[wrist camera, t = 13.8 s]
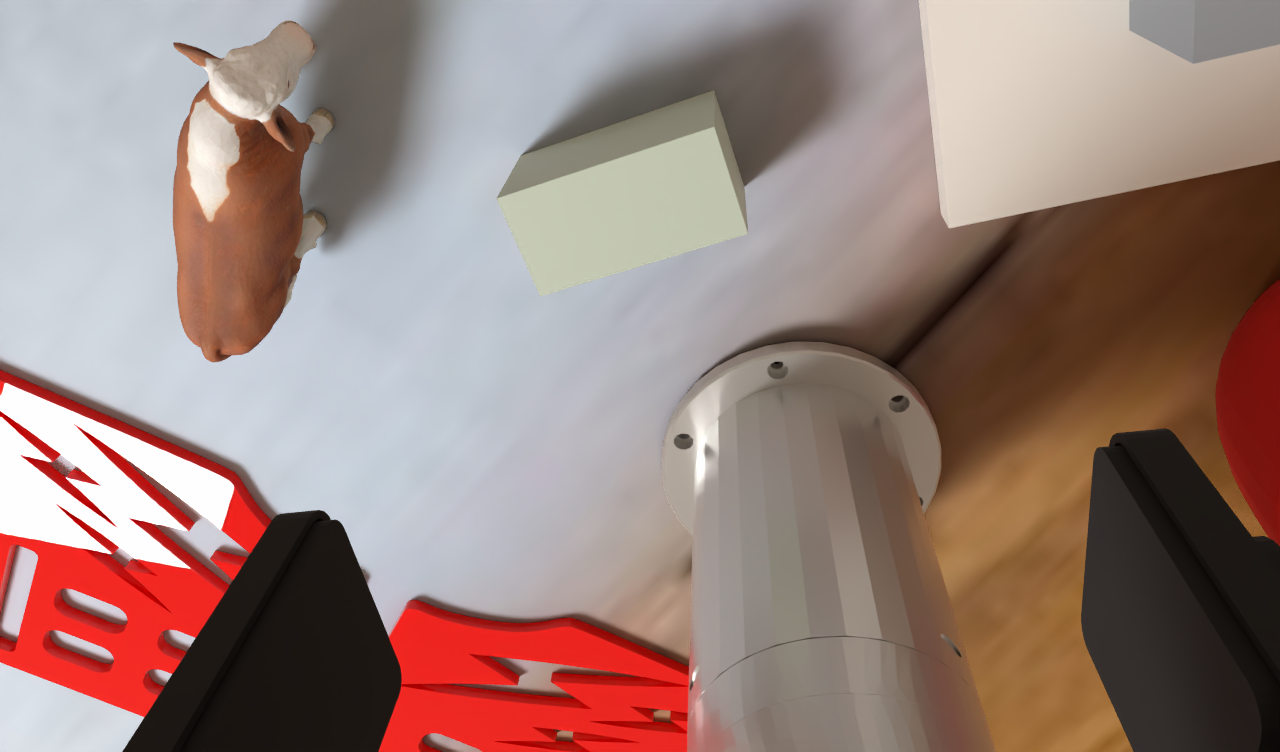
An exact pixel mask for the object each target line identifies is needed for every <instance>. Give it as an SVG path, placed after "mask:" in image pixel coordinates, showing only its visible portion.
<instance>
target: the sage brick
mask: <svg viewBox="0 0 1280 752" xmlns="http://www.w3.org/2000/svg"><path fill="white" fill-rule="evenodd" d="M497 201H498V203H499V205H500V207H501V210H502V212H503V214H504V216H505V219H506V221H507V223H508V225H509V227H510V230H511V232H512V234H513V236H514V239H515V241H516V243H517V245H518V248H519V250H520V252H521V254H522V257H523V259H524V261H525V263H526V265H527V268H528V270H529V272H530V274H531V277H532V279H533V281H534V283H535V286H536V288H537V290H538V292H539V295H540V296H543V295H546V294H549V293H553V292H556V291H559V290H563V289H566V288H569V287H573V286H576V285H579V284H583V283H586V282H589V281H593V280H596V279H599V278H602V277H606V276H609V275H612V274H616V273H619V272H622V271H626V270H629V269H632V268H636V267H639V266H642V265H646V264H649V263H652V262H656V261H659V260H662V259H666V258H669V257H672V256H676V255H679V254H682V253H686V252H689V251H692V250H695V249H699V248H702V247H705V246H709V245H712V244H715V243H719V242H722V241H725V240H729V239H732V238H735V237H739V236H742V235H745V234H748V226H747V214H746V202H745V190H744V184H743V181H742V178H741V175H740V172H739V168H738V165H737V162H736V159H735V155H734V152H733V149H732V146H731V143H730V139H729V136H728V133H727V130H726V127H725V123H724V120H723V117H722V114H721V111H720V107H719V104H718V101H717V98H716V94H715V91H714V90H712V91H709V92H706V93H703V94H701V95H698V96H695V97H692V98H689V99H686V100H683V101H680V102H677V103H674V104H671V105H668V106H665V107H662V108H659V109H656V110H653V111H650V112H647V113H645V114H642V115H639V116H636V117H633V118H630V119H627V120H624V121H621V122H618V123H615V124H612V125H609V126H606V127H603V128H600V129H597V130H594V131H591V132H589V133H586V134H583V135H580V136H577V137H574V138H571V139H568V140H565V141H562V142H559V143H556V144H553V145H550V146H547V147H544V148H541V149H538V150H536V151H533V152H530V153H527V154H524V155H521V156H520V158H519V160H518V161H517V163H516V165H515V167H514V168H513V170H512V172H511V174H510V176H509V177H508V179H507V181H506V183H505V184H504V186H503V188H502V190H501V192H500V193H499V195H498V197H497Z"/></svg>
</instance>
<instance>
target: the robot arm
mask: <svg viewBox="0 0 1280 752" xmlns="http://www.w3.org/2000/svg"><path fill="white" fill-rule="evenodd" d="M774 362H781V363H779V364H773V363H774ZM897 395H899V396H897ZM895 396H897V397H895ZM682 433H684V434H682ZM661 467H662V483H663V486H664V490H665V493H666V496H667V499H668V503H669V505H670V506H671V508H672V510H673V512H674V514H675V515H676V517H677V519H678V521H679V522H680V523H681V524H682V525H683V527H684V528H685V529H686V530H687V531H688V532H689V533H690V535H691V536H692V537H693V552H692V586H691V621H690V655H689V690H688V724H687V752H996V750H995V747H994V743H993V740H992V737H991V734H990V730H989V727H988V724H987V720H986V717H985V714H984V711H983V708H982V706H981V703H980V700H979V697H978V693H977V690H976V687H975V683H974V680H973V676H972V673H971V670H970V666H969V663H968V660H967V656H966V653H965V650H964V646H963V643H962V640H961V636H960V633H959V630H958V626H957V623H956V620H955V616H954V613H953V610H952V606H951V603H950V600H949V596H948V593H947V590H946V586H945V583H944V580H943V576H942V573H941V570H940V566H939V563H938V560H937V556H936V553H935V549H934V546H933V543H932V539H931V536H930V533H929V529H928V526H927V523H926V519H925V516H924V513H925V512H926V511H927V509H928V507H929V505H930V503H931V501H932V499H933V496H934V494H935V492H936V490H937V486H938V482H939V478H940V473H941V444H940V440H939V436H938V432H937V428H936V425H935V422H934V420H933V418H932V415H931V413H930V410H929V408H928V406H927V404H926V403H925V401H924V400H923V398H922V397H921V395H920V394H919V392H918V391H917V389H916V388H915V387H914V386H913V385H912V384H911V383H910V382H909V381H908V380H907V379H906V378H905V377H904V376H903V375H902V374H900V373H899V372H898V371H897V370H896V369H894V368H893V367H891V366H889V365H888V364H886V363H884V362H883V361H881V360H880V359H878V358H876V357H874V356H872V355H869V354H867V353H864V352H861V351H859V350H856V349H853V348H851V347H846V346H841V345H836V344H830V343H825V342H787V343H781V344H774V345H767V346H764V347H761V348H757V349H754V350H751V351H748V352H745V353H742V354H739V355H737V356H735V357H734V358H732V359H730V360H728V361H726V362H724V363H722V364H720V365H718V366H716V367H715V368H714V369H713V370H711V371H710V372H709V373H707V374H706V375H705V376H704V377H702V378H701V379H700V380H699V381H697V382H696V383H695V384H694V385H693V387H692V388H691V389H690V390H689V391H688V392H687V394H686V395H685V396H684V397H683V398H682V399H681V400H680V402H679V404H678V406H677V408H676V409H675V411H674V413H673V415H672V417H671V418H670V420H669V423H668V427H667V430H666V434H665V437H664V440H663V451H662V460H661ZM1081 623H1082V631H1083V636H1084V640H1085V644H1086V646H1087V649H1088V651H1089V654H1090V656H1091V658H1092V660H1093V663H1094V665H1095V667H1096V669H1097V671H1098V674H1099V676H1100V678H1101V680H1102V682H1103V685H1104V687H1105V689H1106V691H1107V694H1108V696H1109V698H1110V700H1111V702H1112V705H1113V707H1114V709H1115V711H1116V713H1117V716H1118V718H1119V720H1120V722H1121V725H1122V727H1123V729H1124V731H1125V733H1126V736H1127V738H1128V740H1129V742H1130V744H1131V747H1132V749H1133V751H1134V752H1280V546H1279V545H1278V544H1277V543H1276V542H1275V541H1274V540H1272V539H1270V538H1267V537H1265V536H1258V537H1252V536H1251V535H1250V533H1249V532H1248V531H1247V529H1246V528H1245V527H1244V525H1243V524H1242V523H1241V521H1240V520H1239V519H1238V518H1237V516H1236V515H1235V514H1234V512H1233V511H1232V510H1231V508H1230V507H1229V506H1228V504H1227V503H1226V502H1225V500H1224V499H1223V498H1222V496H1221V495H1220V494H1219V492H1218V491H1217V490H1216V488H1215V487H1214V486H1213V484H1212V483H1211V482H1210V481H1209V479H1208V478H1207V477H1206V475H1205V474H1204V473H1203V471H1202V470H1201V469H1200V467H1199V466H1198V465H1197V463H1196V462H1195V461H1194V459H1193V458H1192V457H1191V455H1190V454H1189V453H1188V451H1187V450H1186V449H1185V447H1184V446H1183V445H1182V443H1181V442H1180V441H1179V440H1178V438H1177V437H1176V436H1175V434H1174V433H1173V432H1172V431H1170V430H1168V429H1156V430H1146V431H1135V432H1125V433H1116V434H1114V435H1113V436H1112V438H1111V440H1110V445H1109V447H1099V448H1097V449H1096V451H1095V454H1094V461H1093V473H1092V486H1091V499H1090V511H1089V524H1088V537H1087V549H1086V562H1085V575H1084V587H1083V600H1082V613H1081ZM401 683H402V674H401V668H400V664H399V661H398V659H397V656H396V654H395V652H394V649H393V647H392V644H391V642H390V639H389V637H388V634H387V632H386V630H385V627H384V625H383V622H382V620H381V617H380V615H379V612H378V610H377V607H376V605H375V603H374V600H373V598H372V595H371V593H370V590H369V588H368V585H367V583H366V581H365V578H364V576H363V573H362V571H361V568H360V566H359V563H358V561H357V558H356V556H355V554H354V551H353V549H352V546H351V544H350V541H349V539H348V536H347V534H346V531H345V529H344V527H343V525H342V524H341V523H340V522H339V521H338V520H331V519H330V517H329V516H328V515H327V514H326V513H325V512H324V511H320V510H316V511H305V512H295V513H285V514H280V515H277V516H275V518H274V519H273V520H272V521H271V522H270V524H269V525H268V527H267V529H266V530H265V532H264V533H263V535H262V536H261V538H260V539H259V541H258V542H257V544H256V546H255V547H254V549H253V550H252V552H251V553H250V555H249V556H248V558H247V560H246V561H245V563H244V564H243V566H242V567H241V569H240V570H239V572H238V573H237V575H236V577H235V578H234V580H233V581H232V583H231V584H230V586H229V587H228V589H227V591H226V592H225V594H224V595H223V597H222V598H221V600H220V601H219V603H218V604H217V606H216V608H215V609H214V611H213V612H212V614H211V615H210V617H209V618H208V620H207V622H206V623H205V625H204V626H203V628H202V629H201V631H200V632H199V634H198V636H197V637H196V639H195V640H194V642H193V643H192V645H191V646H190V648H189V649H188V651H187V653H186V654H185V656H184V657H183V659H182V660H181V662H180V663H179V665H178V667H177V668H176V670H175V671H174V673H173V674H172V676H171V677H170V679H169V680H168V682H167V684H166V685H165V687H164V688H163V690H162V691H161V693H160V694H159V696H158V698H157V699H156V701H155V702H154V704H153V705H152V707H151V708H150V710H149V711H148V713H147V715H146V716H145V718H144V719H143V721H142V722H141V724H140V725H139V727H138V729H137V730H136V732H135V733H134V735H133V736H132V738H131V739H130V741H129V742H128V744H127V746H126V747H125V749H124V750H123V752H378V751H379V749H380V746H381V743H382V741H383V738H384V735H385V732H386V730H387V727H388V724H389V722H390V719H391V716H392V713H393V711H394V708H395V705H396V702H397V700H398V697H399V694H400V690H401Z"/></svg>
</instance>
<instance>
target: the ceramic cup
mask: <svg viewBox="0 0 1280 752" xmlns="http://www.w3.org/2000/svg"><path fill="white" fill-rule="evenodd" d="M1216 413H1217V425H1218V431H1219V435H1220V440H1221V442H1222V445H1223V448H1224V451H1225V454H1226V457H1227V459H1228V462H1229V465H1230V468H1231V471H1232V473H1233V476H1234V478H1235V480H1236V482H1237V484H1238V486H1239V488H1240V490H1241V492H1242V494H1243V496H1244V498H1245V500H1246V501H1247V503H1248V505H1249V507H1250V508H1251V510H1252V512H1253V513H1254V515H1255V517H1256V518H1257V520H1258V521H1259V523H1260V525H1261V526H1262V528H1263V529H1264V531H1265V532H1266V534H1267V535H1268V537H1269V538H1270V539H1272V540H1274V541H1275V542H1276V543H1277V544H1278V545H1279V546H1280V279H1279V280H1278V281H1276V282H1275V283H1274V284H1273V285H1271V286H1270V287H1269V288H1267V289H1266V290H1265V291H1264V292H1263V293H1262V294H1261V296H1260V297H1259V298H1258V299H1257V300H1256V301H1255V302H1254V303H1253V305H1252V306H1251V307H1250V308H1249V309H1248V311H1247V312H1246V314H1245V315H1244V317H1243V318H1242V320H1241V321H1240V323H1239V324H1238V326H1237V327H1236V329H1235V330H1234V332H1233V334H1232V336H1231V338H1230V340H1229V343H1228V345H1227V347H1226V350H1225V352H1224V354H1223V357H1222V359H1221V364H1220V369H1219V374H1218V379H1217V385H1216Z"/></svg>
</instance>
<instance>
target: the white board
mask: <svg viewBox="0 0 1280 752" xmlns="http://www.w3.org/2000/svg"><path fill="white" fill-rule="evenodd" d="M918 1H919V10H920V20H921V29H922V38H923V48H924V57H925V67H926V76H927V86H928V95H929V105H930V114H931V124H932V133H933V143H934V152H935V162H936V171H937V181H938V190H939V200H940V209H941V215H942V217H943V219H944V220H945V222H946V224H947V226H948V227H949V228H954V227H958V226H963V225H968V224H973V223H978V222H983V221H988V220H992V219H997V218H1002V217H1007V216H1012V215H1017V214H1022V213H1026V212H1031V211H1036V210H1041V209H1046V208H1051V207H1056V206H1060V205H1065V204H1070V203H1075V202H1080V201H1085V200H1090V199H1094V198H1099V197H1104V196H1109V195H1114V194H1119V193H1124V192H1128V191H1133V190H1138V189H1143V188H1148V187H1153V186H1158V185H1162V184H1167V183H1172V182H1177V181H1182V180H1187V179H1192V178H1196V177H1201V176H1206V175H1211V174H1216V173H1221V172H1226V171H1230V170H1235V169H1240V168H1245V167H1250V166H1255V165H1260V164H1264V163H1269V162H1274V161H1279V160H1280V44H1279V45H1275V46H1270V47H1266V48H1261V49H1257V50H1252V51H1248V52H1244V53H1239V54H1235V55H1230V56H1226V57H1221V58H1217V59H1213V60H1208V61H1204V62H1199V63H1195V64H1193V63H1191V62H1189V61H1187V60H1185V59H1183V58H1181V57H1179V56H1177V55H1175V54H1173V53H1172V52H1170V51H1168V50H1166V49H1164V48H1162V47H1160V46H1158V45H1156V44H1154V43H1153V42H1151V41H1149V40H1147V39H1145V38H1143V37H1141V36H1139V35H1137V34H1135V33H1133V32H1132V31H1130V30H1129V0H918Z"/></svg>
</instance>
